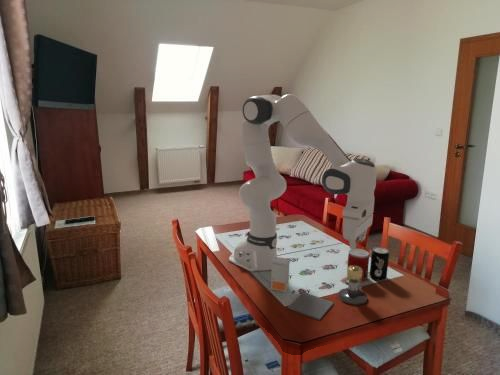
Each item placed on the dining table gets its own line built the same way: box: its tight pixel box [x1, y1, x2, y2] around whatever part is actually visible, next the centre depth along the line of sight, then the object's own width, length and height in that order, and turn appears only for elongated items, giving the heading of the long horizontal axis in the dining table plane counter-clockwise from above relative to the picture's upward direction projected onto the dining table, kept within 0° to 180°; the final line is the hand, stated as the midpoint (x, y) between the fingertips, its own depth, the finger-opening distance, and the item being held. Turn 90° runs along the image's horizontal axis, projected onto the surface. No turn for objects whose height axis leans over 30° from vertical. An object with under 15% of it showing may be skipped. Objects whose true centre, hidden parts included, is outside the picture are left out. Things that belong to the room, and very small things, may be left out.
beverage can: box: [369, 246, 390, 281], centre depth 149 cm, size 7×7×12 cm
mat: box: [287, 291, 335, 321], centre depth 130 cm, size 12×12×1 cm
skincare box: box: [270, 256, 291, 293], centre depth 140 cm, size 6×4×12 cm
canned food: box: [346, 248, 370, 282], centre depth 149 cm, size 8×8×11 cm
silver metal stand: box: [338, 280, 368, 306], centre depth 135 cm, size 10×10×8 cm
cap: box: [346, 266, 363, 283], centre depth 133 cm, size 5×5×4 cm
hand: (357, 244), depth 130 cm, fingers open, 8 cm apart
